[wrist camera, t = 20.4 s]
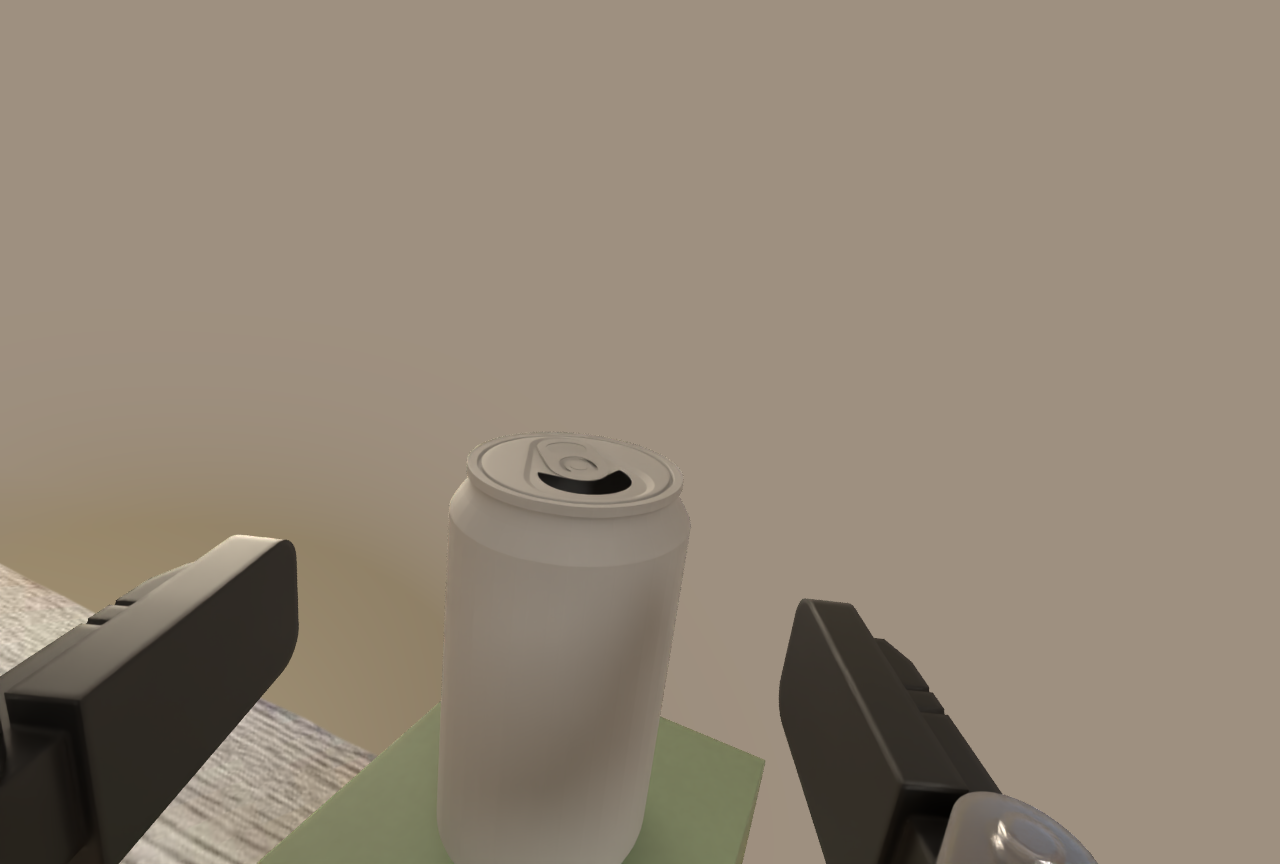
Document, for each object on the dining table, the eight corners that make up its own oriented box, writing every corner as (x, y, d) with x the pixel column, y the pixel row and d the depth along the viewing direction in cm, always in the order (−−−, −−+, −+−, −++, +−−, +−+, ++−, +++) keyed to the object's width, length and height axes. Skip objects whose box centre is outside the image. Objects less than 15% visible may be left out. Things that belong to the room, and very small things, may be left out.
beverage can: (448, 958, 15) (472, 518, 12) (426, 758, 21) (438, 422, 17) (675, 880, 18) (747, 503, 14) (601, 722, 23) (640, 424, 20)
